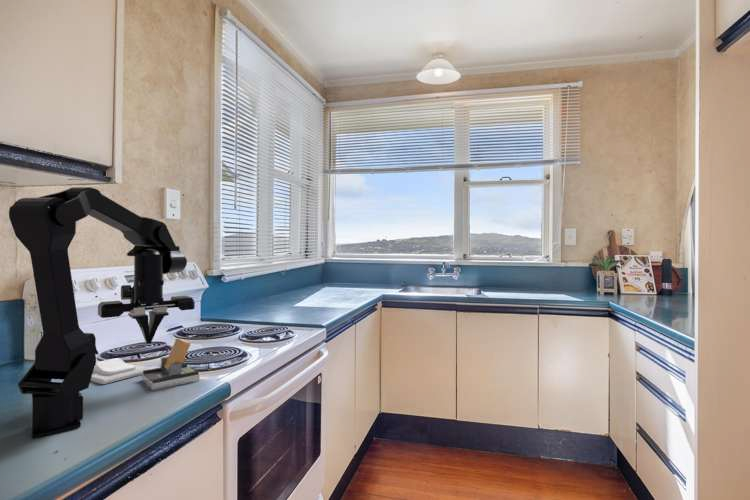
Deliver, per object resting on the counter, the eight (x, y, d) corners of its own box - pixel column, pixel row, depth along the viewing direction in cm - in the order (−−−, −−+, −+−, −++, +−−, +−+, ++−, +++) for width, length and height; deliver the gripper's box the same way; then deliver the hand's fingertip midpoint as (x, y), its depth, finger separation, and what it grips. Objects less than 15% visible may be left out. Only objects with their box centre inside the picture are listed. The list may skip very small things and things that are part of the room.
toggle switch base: (151, 390, 86) (152, 369, 86) (141, 380, 93) (142, 360, 93) (199, 380, 93) (199, 360, 93) (186, 371, 100) (186, 352, 100)
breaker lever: (169, 374, 90) (183, 341, 93) (162, 368, 94) (176, 337, 96) (176, 375, 92) (190, 343, 94) (170, 370, 95) (183, 339, 97)
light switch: (123, 353, 105) (150, 358, 99) (123, 369, 105) (151, 374, 99) (76, 363, 96) (102, 369, 90) (76, 380, 96) (103, 387, 89)
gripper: (181, 272, 103) (180, 331, 103) (94, 275, 91) (94, 343, 91) (195, 274, 95) (195, 339, 95) (101, 278, 82) (101, 353, 83)
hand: (148, 343), depth 91 cm, fingers closed
